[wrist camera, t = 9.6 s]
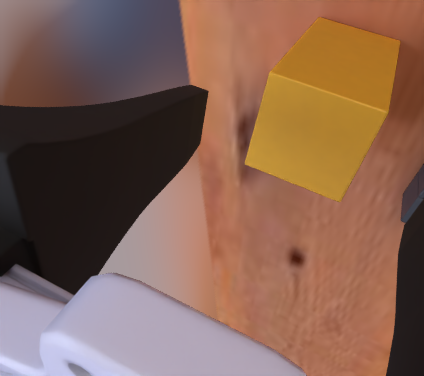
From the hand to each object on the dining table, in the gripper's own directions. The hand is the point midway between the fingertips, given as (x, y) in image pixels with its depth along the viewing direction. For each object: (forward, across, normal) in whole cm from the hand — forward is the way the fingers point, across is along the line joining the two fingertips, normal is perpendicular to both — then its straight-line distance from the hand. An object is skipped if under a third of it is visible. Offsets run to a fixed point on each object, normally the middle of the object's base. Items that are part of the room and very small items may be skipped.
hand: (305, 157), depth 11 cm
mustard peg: (+10, 0, +1) cm, 10 cm away
